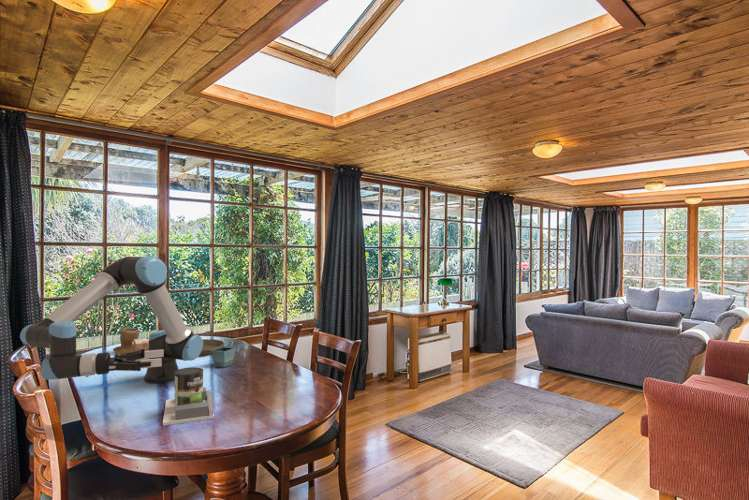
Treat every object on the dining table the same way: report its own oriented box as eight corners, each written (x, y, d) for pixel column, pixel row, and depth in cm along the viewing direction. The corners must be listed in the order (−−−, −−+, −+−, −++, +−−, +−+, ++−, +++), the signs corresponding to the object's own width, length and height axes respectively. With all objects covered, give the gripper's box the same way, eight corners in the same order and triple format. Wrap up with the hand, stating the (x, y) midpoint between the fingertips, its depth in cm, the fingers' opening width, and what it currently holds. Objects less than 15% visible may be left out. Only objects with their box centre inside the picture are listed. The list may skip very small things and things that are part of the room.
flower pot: (210, 367, 226) (210, 350, 226) (222, 363, 234) (222, 346, 234) (224, 369, 223) (224, 351, 223) (235, 364, 231) (235, 348, 231)
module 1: (175, 420, 154) (175, 410, 154) (175, 415, 159) (175, 405, 159) (208, 415, 159) (208, 406, 159) (207, 410, 163) (207, 401, 163)
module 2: (176, 403, 171) (176, 394, 171) (176, 399, 175) (177, 390, 175) (206, 399, 175) (206, 391, 175) (206, 395, 180) (206, 387, 180)
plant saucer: (167, 360, 239) (167, 352, 239) (169, 348, 267) (169, 341, 267) (226, 355, 252) (226, 347, 252) (222, 344, 280) (222, 337, 280)
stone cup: (141, 354, 252) (141, 328, 252) (118, 357, 244) (118, 331, 244) (134, 349, 263) (134, 325, 263) (112, 352, 255) (112, 327, 255)
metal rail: (209, 416, 158) (209, 410, 158) (206, 395, 180) (206, 390, 180) (213, 415, 159) (213, 409, 159) (210, 394, 181) (210, 390, 181)
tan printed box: (131, 358, 244) (131, 336, 244) (144, 356, 248) (144, 335, 247) (135, 366, 226) (135, 343, 226) (149, 365, 230) (149, 342, 230)
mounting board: (162, 425, 152) (162, 422, 152) (166, 402, 175) (166, 399, 175) (214, 418, 159) (214, 415, 159) (211, 396, 182) (211, 394, 182)
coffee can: (208, 405, 169) (209, 369, 169) (185, 414, 160) (185, 376, 160) (192, 400, 174) (192, 365, 174) (168, 408, 165) (168, 371, 165)
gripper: (102, 365, 166) (164, 358, 174) (89, 385, 143) (160, 377, 151) (102, 345, 165) (164, 340, 174) (88, 362, 143) (160, 355, 151)
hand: (162, 357), depth 163 cm, fingers open, 13 cm apart
